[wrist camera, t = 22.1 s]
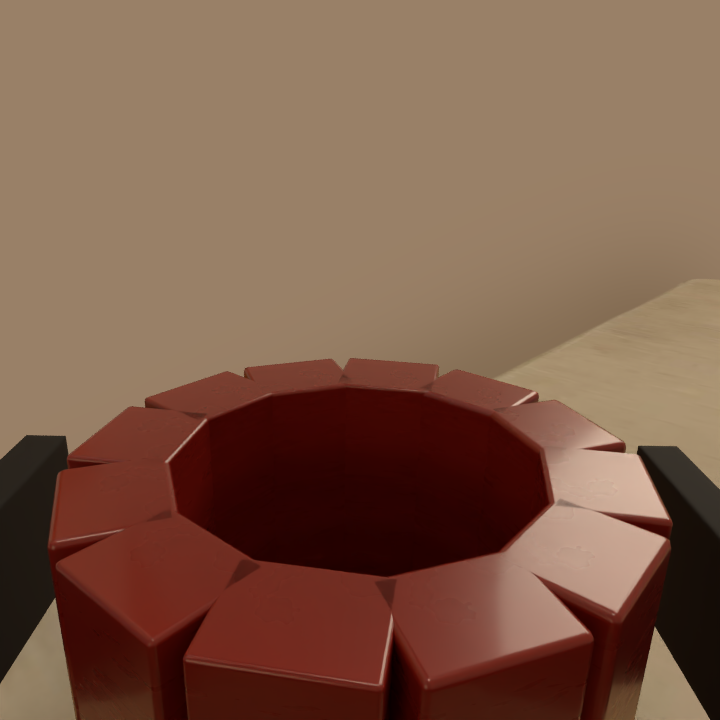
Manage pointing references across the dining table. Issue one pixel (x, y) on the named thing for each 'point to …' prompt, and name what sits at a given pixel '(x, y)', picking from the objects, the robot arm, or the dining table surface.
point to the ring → (356, 552)
